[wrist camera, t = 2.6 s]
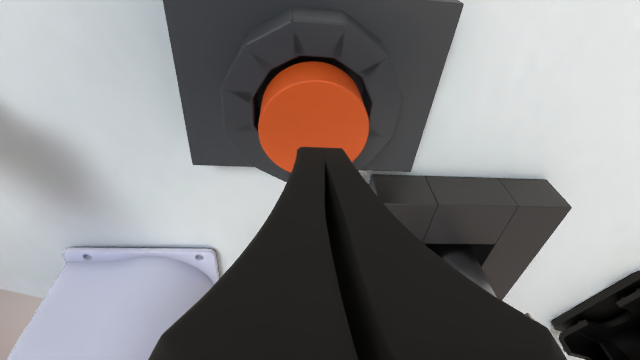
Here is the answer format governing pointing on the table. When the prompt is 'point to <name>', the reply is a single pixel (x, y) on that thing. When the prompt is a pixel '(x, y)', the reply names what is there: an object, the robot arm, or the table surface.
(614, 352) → the end cap
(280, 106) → the button
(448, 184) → the blender base
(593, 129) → the table surface
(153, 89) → the table surface
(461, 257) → the blade
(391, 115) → the control block
